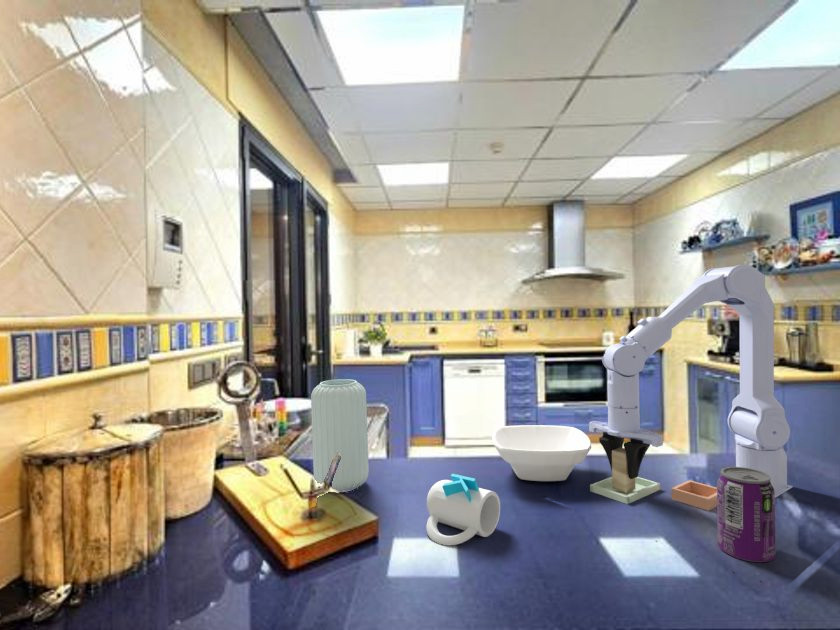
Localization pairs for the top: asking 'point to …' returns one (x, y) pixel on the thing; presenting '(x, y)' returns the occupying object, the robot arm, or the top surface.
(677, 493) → the orange open box
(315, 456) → the vase
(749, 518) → the beverage can
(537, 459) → the bowl
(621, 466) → the beech pin
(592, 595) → the top surface
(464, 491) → the mug
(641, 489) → the tray
